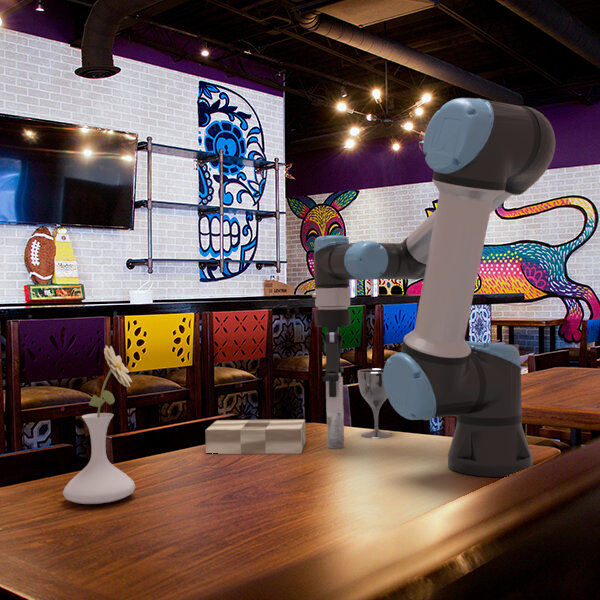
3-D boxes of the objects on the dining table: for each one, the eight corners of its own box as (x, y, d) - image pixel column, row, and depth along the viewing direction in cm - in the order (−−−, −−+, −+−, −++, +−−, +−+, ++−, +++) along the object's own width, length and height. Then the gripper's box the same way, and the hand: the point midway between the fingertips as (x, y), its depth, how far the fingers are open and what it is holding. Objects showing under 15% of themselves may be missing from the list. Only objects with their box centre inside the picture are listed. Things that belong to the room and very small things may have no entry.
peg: (344, 448, 150) (342, 378, 150) (327, 448, 151) (325, 378, 151) (344, 445, 154) (342, 376, 154) (327, 445, 154) (326, 376, 154)
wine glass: (353, 437, 163) (352, 371, 163) (367, 431, 170) (365, 368, 170) (386, 439, 159) (384, 372, 159) (398, 433, 166) (397, 369, 166)
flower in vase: (108, 512, 108) (104, 349, 108) (47, 507, 112) (43, 349, 112) (154, 490, 121) (150, 343, 121) (98, 486, 125) (94, 343, 125)
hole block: (301, 453, 147) (300, 429, 147) (205, 454, 149) (205, 430, 149) (305, 441, 159) (304, 419, 159) (217, 442, 161) (216, 420, 161)
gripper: (318, 307, 165) (319, 398, 165) (311, 310, 140) (313, 417, 141) (350, 306, 165) (352, 398, 165) (349, 309, 140) (351, 417, 140)
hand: (334, 407), depth 153 cm, fingers open, 13 cm apart
